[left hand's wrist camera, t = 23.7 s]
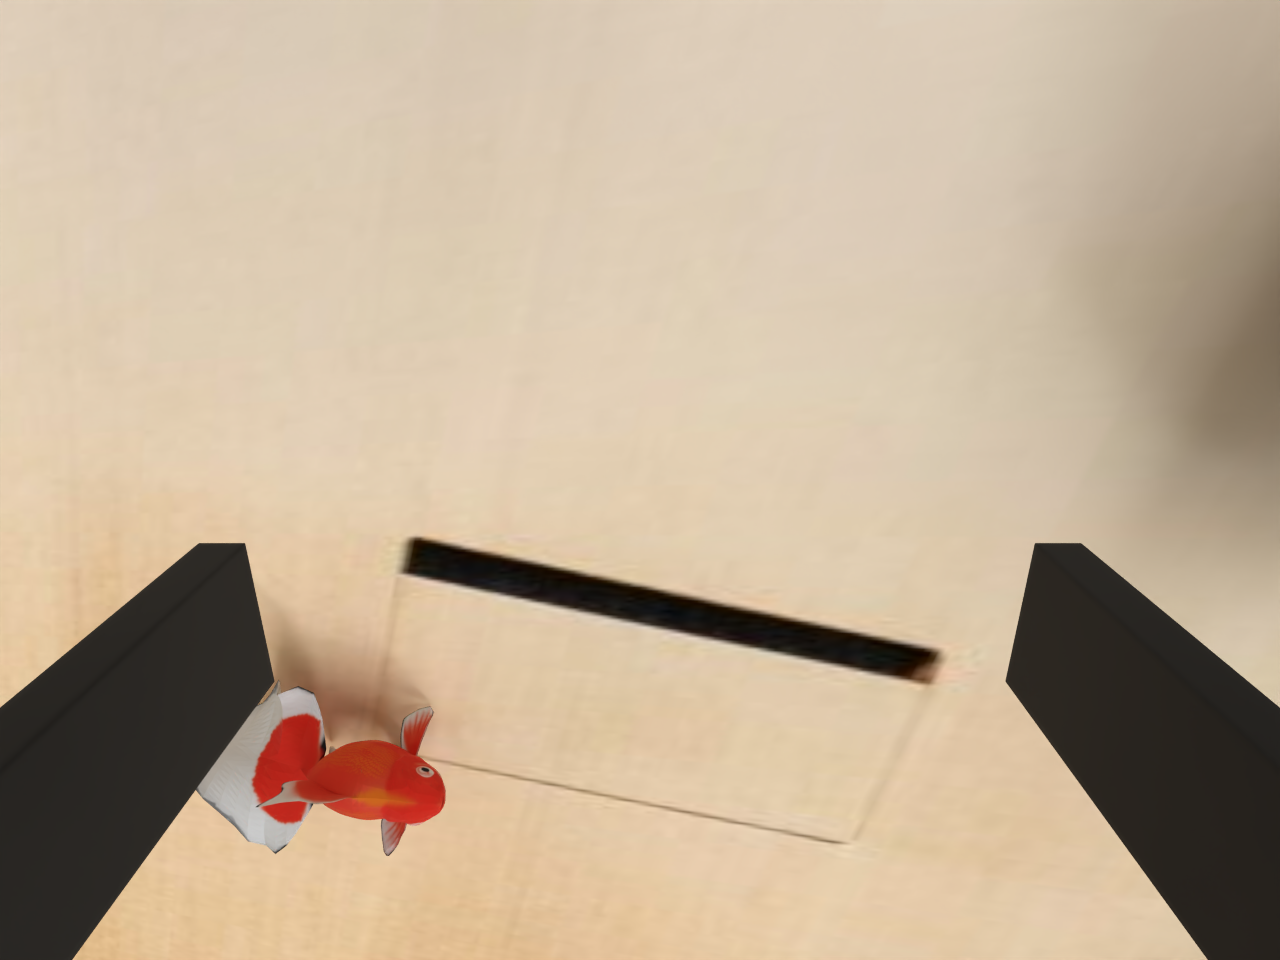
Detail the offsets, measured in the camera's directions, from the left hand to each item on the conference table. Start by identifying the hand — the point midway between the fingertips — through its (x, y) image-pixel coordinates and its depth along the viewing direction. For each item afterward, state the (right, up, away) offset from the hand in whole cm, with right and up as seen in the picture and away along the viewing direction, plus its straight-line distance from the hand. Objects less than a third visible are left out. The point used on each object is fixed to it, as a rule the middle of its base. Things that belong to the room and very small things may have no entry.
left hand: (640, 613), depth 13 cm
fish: (-19, -13, +35) cm, 41 cm away
